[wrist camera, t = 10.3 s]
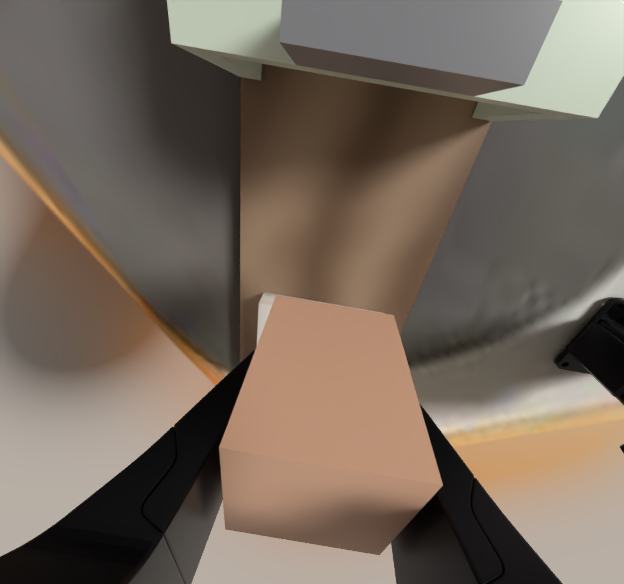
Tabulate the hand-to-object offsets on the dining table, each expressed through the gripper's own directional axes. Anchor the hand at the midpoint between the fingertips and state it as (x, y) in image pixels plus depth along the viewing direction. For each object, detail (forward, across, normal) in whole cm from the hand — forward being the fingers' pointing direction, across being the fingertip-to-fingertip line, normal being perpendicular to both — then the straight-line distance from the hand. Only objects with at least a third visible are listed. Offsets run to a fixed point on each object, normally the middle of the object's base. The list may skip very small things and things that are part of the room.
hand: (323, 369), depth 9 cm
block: (+1, 0, 0) cm, 1 cm away
